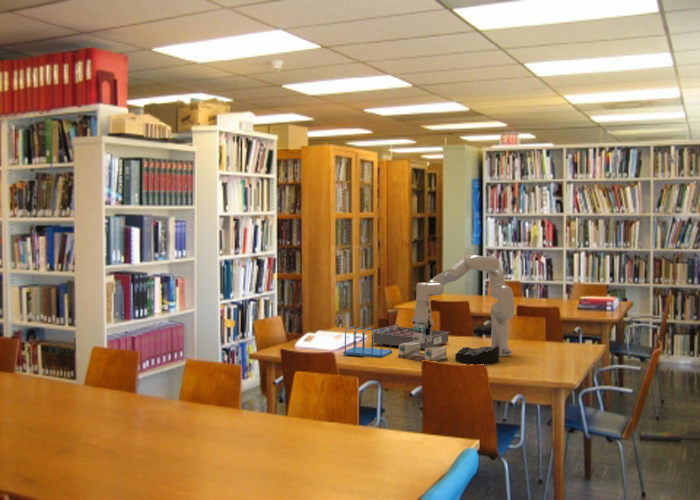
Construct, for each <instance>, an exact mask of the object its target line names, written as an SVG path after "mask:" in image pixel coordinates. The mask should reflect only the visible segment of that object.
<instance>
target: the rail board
mask: <svg viewBox="0 0 700 500" xmlns="http://www.w3.org/2000/svg"><path fill="white" fill-rule="evenodd" d="M447 348H448V347H446V346H445V347H444V346H441V345H437V346H434V347H431V348H426V349H424V353H423V352H421V348H420V343H415V342H409V343H403V344H399V346H398V354H397V358H401V359H407V360H412V361H417V362H421V361H422V360H429V361H437V363H442V362H446V361H448V360H449V358H448V357H447V356H448V355H447V351H448V349H447Z"/></svg>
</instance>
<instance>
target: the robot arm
mask: <svg viewBox="0 0 700 500" xmlns="http://www.w3.org/2000/svg"><path fill="white" fill-rule="evenodd" d="M499 260H500V259H498V258H497V257H495V256H488V255H486V256H485V255H484V256H483V255H476V254H466V255H464V256H463V257H461V258H460V259H459V260H458V261H457V262H456V263H455V262H454V264H453V265H452V266H450V267H449V268H447V269H445V270H444V271H442V272H440V273H438V274H437V275H435V276H434V277H432V279H431V280H428V282H418V283H416V290H415V291H416V292H415V293H416V298H415V300H416V304H415V307H414V315H413V317H412V318H411V321H412V323H413V324H416V323H421V324H425V325H426V335H430V328H431V327H432V328H433V325H434V323H435V321H434V320H433V315H432V314H433V313H432V307H431V303H430V296H441V295H442V294H443V293H444V291H445V285H447V284H449V283H452V282H456V281H458V280H460V279H461V278H462V277H464V276H465V275H466V274H467V273H468V272H471V270H475V271H480V272H486V273H487V275H488V278H489V283H490V286H489V287H490V295H491V298H492V299H494V300H497V301H495V302H494V303H492V304H491V307H490V317H491V318H490V319H491V345H490V347H495V346H498V347H499V357H509V356H510V355H511V354H513V353H514V351H513V349H510V347H509V321H508V320H512V318H513V317H514V316H515V313H516V312H515V311H516V310H515V298H514V293H513V290H512V288H511V287H510V286H509V285H506V281H505V276H504V274H505V273H504V271H503V269H502V267H501V263H500V261H499ZM413 324H412V325H413ZM427 324H428V325H427Z"/></svg>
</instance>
